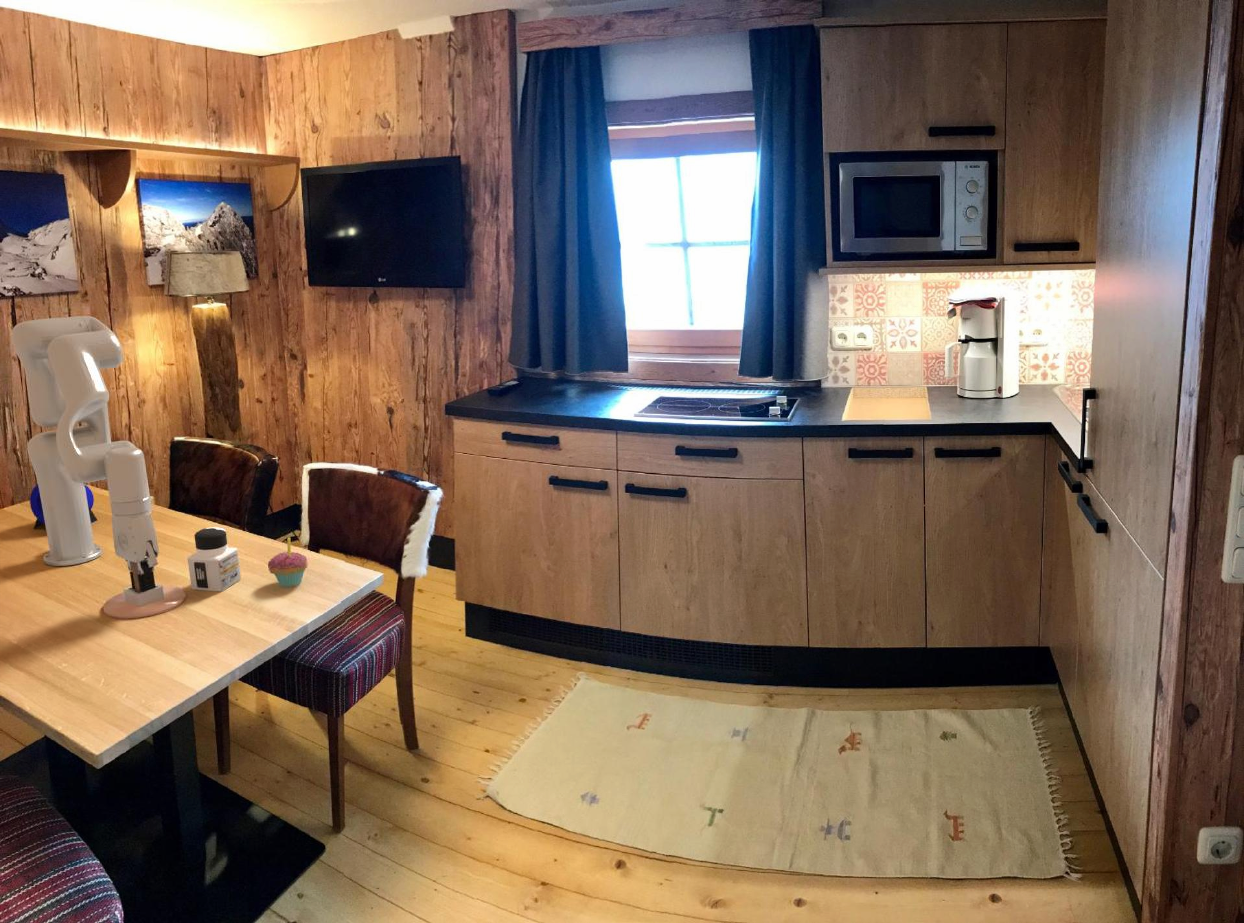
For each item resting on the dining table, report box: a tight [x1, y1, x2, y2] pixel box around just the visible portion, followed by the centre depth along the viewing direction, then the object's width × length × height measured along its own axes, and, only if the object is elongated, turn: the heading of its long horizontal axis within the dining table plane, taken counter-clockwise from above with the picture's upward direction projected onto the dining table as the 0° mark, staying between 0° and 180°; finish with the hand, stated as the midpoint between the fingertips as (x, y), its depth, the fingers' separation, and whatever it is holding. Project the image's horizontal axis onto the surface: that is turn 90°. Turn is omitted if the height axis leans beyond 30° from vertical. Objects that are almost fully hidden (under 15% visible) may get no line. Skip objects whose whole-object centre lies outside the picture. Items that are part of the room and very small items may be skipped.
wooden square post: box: [131, 561, 148, 593], centre depth 211 cm, size 3×3×9 cm
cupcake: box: [267, 534, 309, 588], centre depth 221 cm, size 9×8×12 cm
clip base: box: [103, 583, 186, 620], centre depth 212 cm, size 16×16×4 cm
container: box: [187, 526, 242, 593], centre depth 221 cm, size 8×8×13 cm
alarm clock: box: [29, 483, 98, 530], centre depth 264 cm, size 12×12×15 cm
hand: (143, 587), depth 211 cm, fingers closed on wooden square post, 2 cm apart
